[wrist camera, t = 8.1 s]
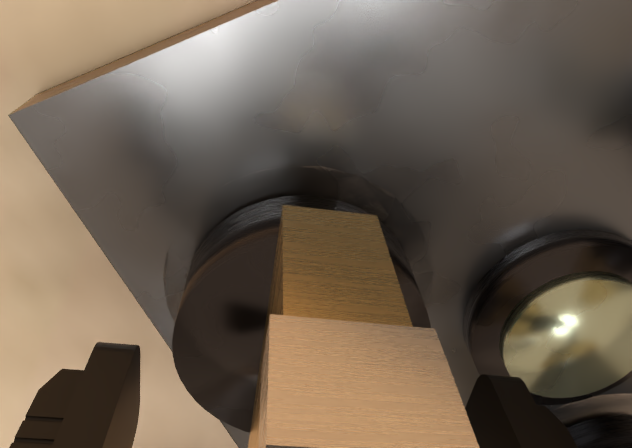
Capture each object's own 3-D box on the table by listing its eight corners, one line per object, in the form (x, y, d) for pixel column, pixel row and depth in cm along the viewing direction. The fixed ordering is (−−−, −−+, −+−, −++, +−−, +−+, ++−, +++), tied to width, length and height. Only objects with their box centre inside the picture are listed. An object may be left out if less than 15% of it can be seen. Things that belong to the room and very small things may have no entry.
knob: (380, 404, 16) (451, 750, 9) (180, 390, 15) (103, 754, 9) (448, 174, 12) (636, 466, 6) (193, 142, 12) (83, 433, 5)
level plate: (861, 409, 20) (939, 476, 17) (337, 555, 22) (344, 631, 20) (979, -309, 10) (1188, -376, 8) (36, 94, 13) (-20, 135, 10)
